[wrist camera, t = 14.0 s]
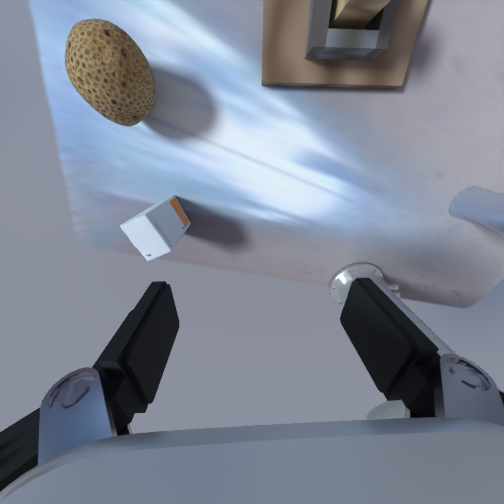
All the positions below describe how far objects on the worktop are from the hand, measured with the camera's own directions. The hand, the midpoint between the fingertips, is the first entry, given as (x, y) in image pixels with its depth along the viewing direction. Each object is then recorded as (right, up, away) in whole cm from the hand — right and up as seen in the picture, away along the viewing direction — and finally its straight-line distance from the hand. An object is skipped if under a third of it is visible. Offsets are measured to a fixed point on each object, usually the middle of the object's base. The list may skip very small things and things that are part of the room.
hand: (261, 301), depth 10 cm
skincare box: (-15, +10, +26) cm, 32 cm away
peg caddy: (+11, +33, +15) cm, 38 cm away
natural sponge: (-17, +26, +18) cm, 36 cm away
